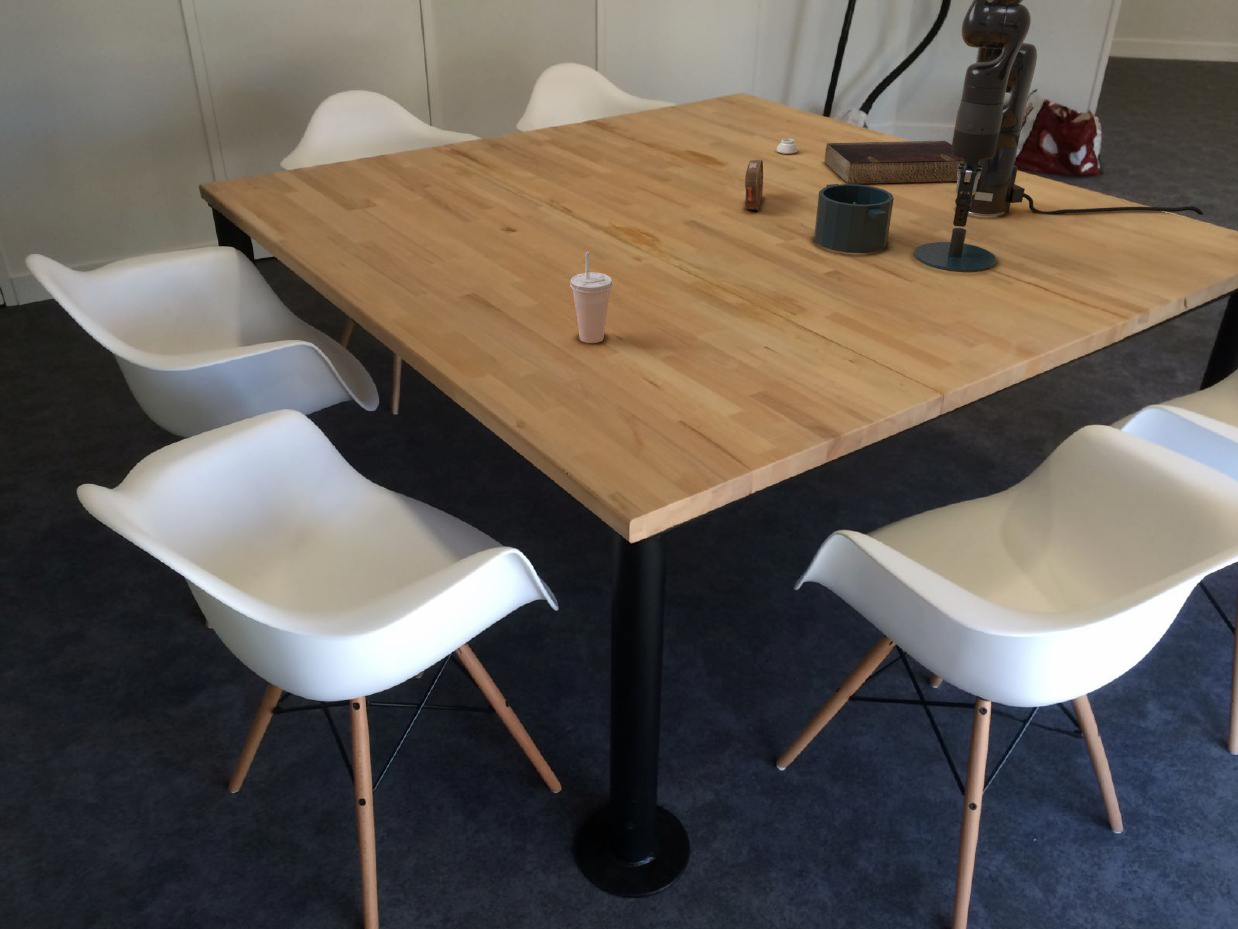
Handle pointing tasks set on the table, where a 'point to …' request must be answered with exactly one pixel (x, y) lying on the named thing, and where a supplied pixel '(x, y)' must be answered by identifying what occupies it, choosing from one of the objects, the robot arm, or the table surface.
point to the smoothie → (591, 303)
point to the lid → (955, 254)
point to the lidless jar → (787, 146)
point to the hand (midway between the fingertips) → (960, 218)
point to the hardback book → (893, 161)
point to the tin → (754, 184)
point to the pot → (853, 218)
